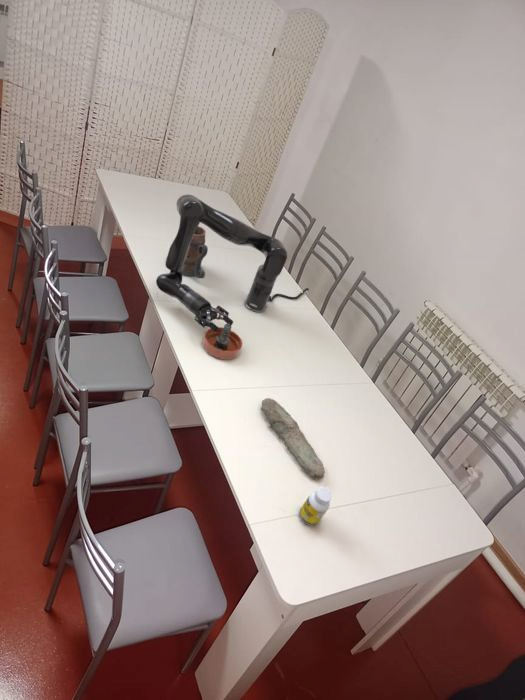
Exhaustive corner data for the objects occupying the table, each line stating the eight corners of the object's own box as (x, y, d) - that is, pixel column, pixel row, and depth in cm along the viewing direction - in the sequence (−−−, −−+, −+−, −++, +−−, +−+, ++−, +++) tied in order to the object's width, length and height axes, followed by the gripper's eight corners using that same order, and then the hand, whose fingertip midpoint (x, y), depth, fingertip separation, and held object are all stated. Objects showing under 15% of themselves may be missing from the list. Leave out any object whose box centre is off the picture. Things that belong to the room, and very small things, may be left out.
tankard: (161, 257, 231) (169, 219, 220) (191, 256, 242) (201, 220, 230) (184, 286, 219) (194, 247, 207) (215, 283, 229) (226, 246, 218)
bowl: (220, 331, 202) (223, 323, 199) (246, 352, 197) (249, 344, 194) (194, 342, 191) (197, 333, 188) (221, 365, 185) (224, 357, 183)
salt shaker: (225, 353, 191) (234, 329, 184) (211, 347, 191) (219, 323, 184) (229, 345, 196) (238, 321, 189) (216, 339, 196) (224, 316, 189)
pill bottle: (297, 505, 147) (312, 482, 140) (317, 508, 149) (332, 486, 142) (300, 524, 142) (315, 502, 135) (320, 527, 144) (336, 505, 137)
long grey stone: (305, 487, 155) (327, 479, 161) (313, 478, 152) (334, 470, 158) (252, 404, 173) (273, 400, 179) (258, 394, 170) (279, 391, 176)
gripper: (185, 300, 187) (215, 324, 181) (210, 292, 197) (239, 314, 192) (181, 315, 191) (209, 339, 186) (206, 306, 202) (234, 329, 196)
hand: (224, 326), depth 189 cm, fingers open, 8 cm apart
